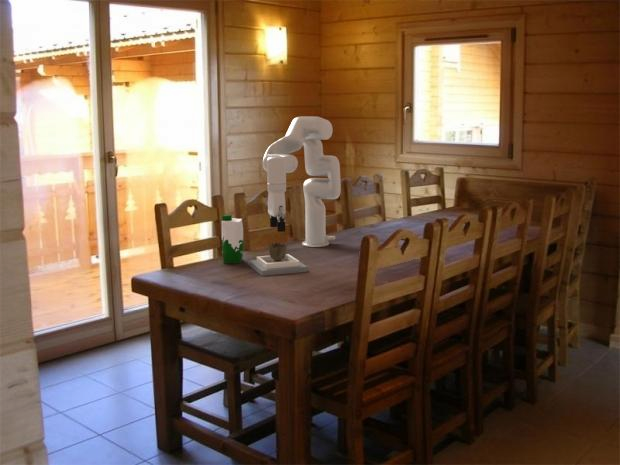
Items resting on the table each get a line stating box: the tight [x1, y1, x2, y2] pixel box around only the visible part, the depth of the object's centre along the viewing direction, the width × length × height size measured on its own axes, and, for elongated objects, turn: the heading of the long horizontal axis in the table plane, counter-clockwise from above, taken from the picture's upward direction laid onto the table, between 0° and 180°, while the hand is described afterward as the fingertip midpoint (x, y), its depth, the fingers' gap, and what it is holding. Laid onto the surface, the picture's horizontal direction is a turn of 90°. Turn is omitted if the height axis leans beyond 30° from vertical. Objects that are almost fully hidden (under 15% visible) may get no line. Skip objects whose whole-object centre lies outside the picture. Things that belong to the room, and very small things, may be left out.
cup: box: [268, 242, 288, 263], centre depth 294 cm, size 8×7×8 cm
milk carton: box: [221, 213, 244, 264], centre depth 306 cm, size 9×9×20 cm
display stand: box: [248, 253, 308, 277], centre depth 295 cm, size 19×19×4 cm
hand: (277, 229), depth 292 cm, fingers open, 9 cm apart
